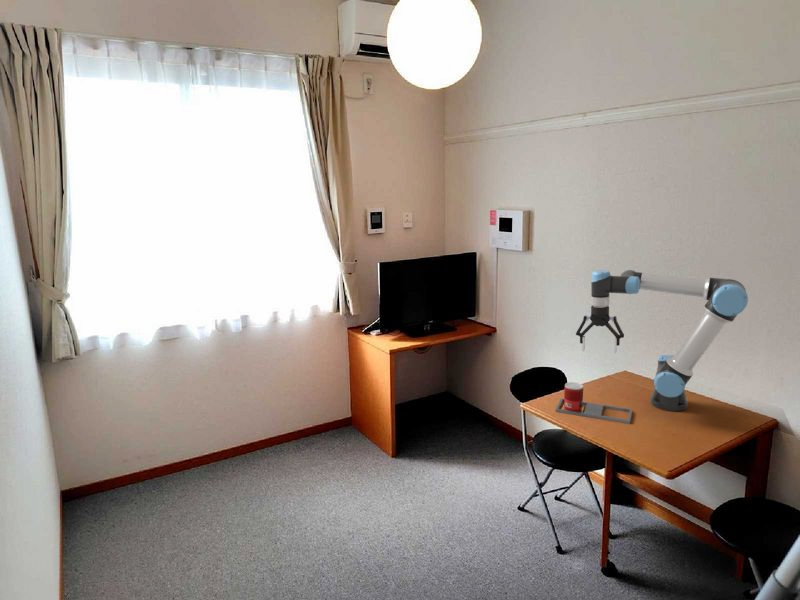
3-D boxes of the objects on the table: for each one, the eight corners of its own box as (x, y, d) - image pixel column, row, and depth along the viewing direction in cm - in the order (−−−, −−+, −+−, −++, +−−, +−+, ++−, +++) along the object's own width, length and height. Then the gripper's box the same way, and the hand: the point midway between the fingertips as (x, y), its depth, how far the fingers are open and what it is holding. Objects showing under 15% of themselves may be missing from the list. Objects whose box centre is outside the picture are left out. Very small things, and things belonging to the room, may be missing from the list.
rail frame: (632, 411, 244) (632, 409, 244) (629, 423, 233) (630, 421, 233) (560, 400, 258) (560, 398, 257) (555, 411, 246) (555, 409, 246)
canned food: (583, 411, 245) (584, 388, 242) (565, 411, 246) (566, 388, 244) (580, 404, 252) (581, 382, 250) (562, 404, 253) (563, 381, 251)
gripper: (630, 304, 241) (629, 350, 246) (571, 302, 251) (571, 347, 256) (630, 308, 235) (629, 355, 239) (569, 306, 245) (569, 351, 249)
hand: (599, 351), depth 247 cm, fingers open, 13 cm apart
